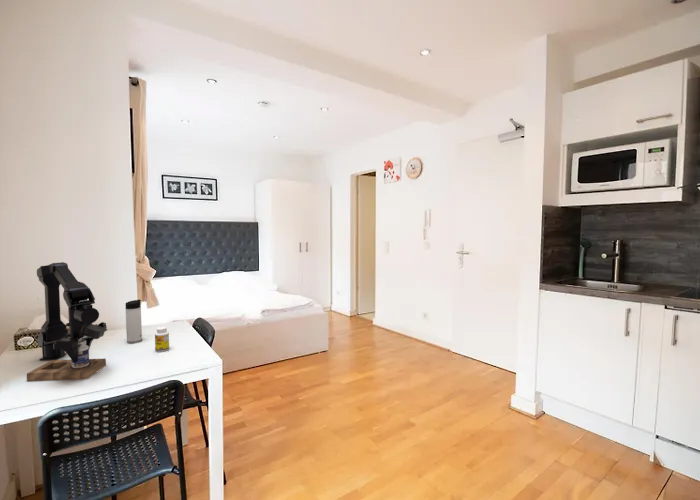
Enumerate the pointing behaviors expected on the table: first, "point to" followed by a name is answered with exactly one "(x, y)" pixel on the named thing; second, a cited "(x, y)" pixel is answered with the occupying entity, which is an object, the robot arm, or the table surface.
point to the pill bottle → (82, 355)
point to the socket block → (65, 370)
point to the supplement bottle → (161, 339)
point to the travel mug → (133, 321)
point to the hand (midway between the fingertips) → (80, 359)
